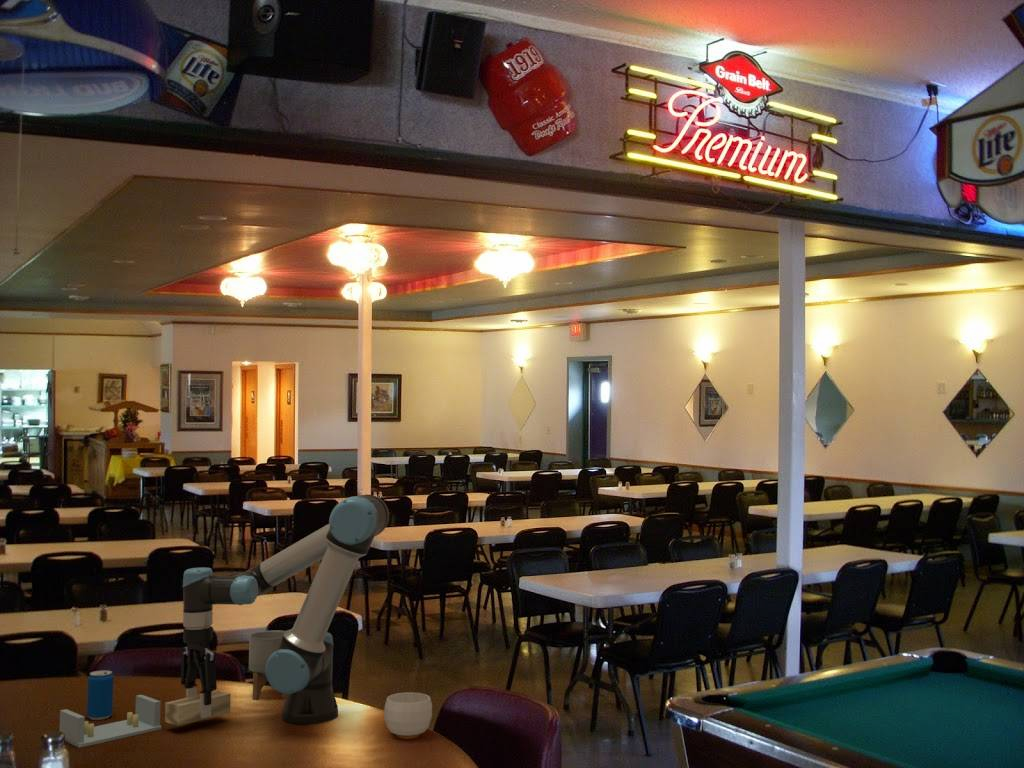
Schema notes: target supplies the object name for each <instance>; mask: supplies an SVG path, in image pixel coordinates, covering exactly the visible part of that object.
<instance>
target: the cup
mask: <svg viewBox="0 0 1024 768" xmlns="http://www.w3.org/2000/svg"><path fill="white" fill-rule="evenodd" d="M383 709H384V713H383V714H384V715H383V716H384V717H383V718H384V721H385V722H384V723H385V724H386V727H387V728H388V730H389V732H391V733H392V734H395V735H396V737H397V738H399V739H404V740H407V739H410V740H411V739H415V738H418V737H419V736H420V735H421V734H423V733H425V732H426V730H428V728H429V727H430V725H431V724H430V723H431V720H432V716H433V704H432V699H431V696H430V695H428V694H426V693H422V692H413V691H411V692H398V693H393V694H390V695H388V696H387V698H386V701H385V705H384V708H383Z"/></svg>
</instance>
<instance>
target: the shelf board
mask: <svg viewBox="0 0 1024 768" xmlns="http://www.w3.org/2000/svg"><path fill="white" fill-rule="evenodd" d="M164 709H165V712H164V714H165V715H164V716H165V717H164V723H167V724H169V725H170V724H171V725H174V726H184V725H187V724H188V725H189V724H191V723H192V724H193V723H195V722H199V721H203V720H208V719H212V718H214V717H215V718H216V717H219V716H223V715H228V714H230V713H231V693H227V692H223V691H218V690H217V691H216V690H214V691H212V692H211V716H210V717H206V718H201V712H200V694H197V696H193V697H188V698H186V697H184V698H180V699H176V700H172V701H168V702H165V707H164Z"/></svg>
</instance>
